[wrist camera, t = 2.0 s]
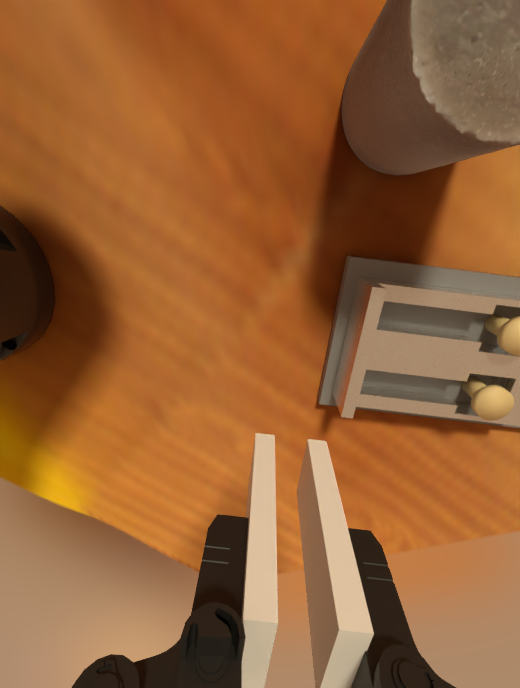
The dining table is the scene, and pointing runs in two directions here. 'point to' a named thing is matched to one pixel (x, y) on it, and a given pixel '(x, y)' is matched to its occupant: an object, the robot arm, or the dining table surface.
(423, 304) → the keyhole panel
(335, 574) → the robot arm
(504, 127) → the pillar candle
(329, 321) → the dining table surface
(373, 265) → the board
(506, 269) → the dining table surface
